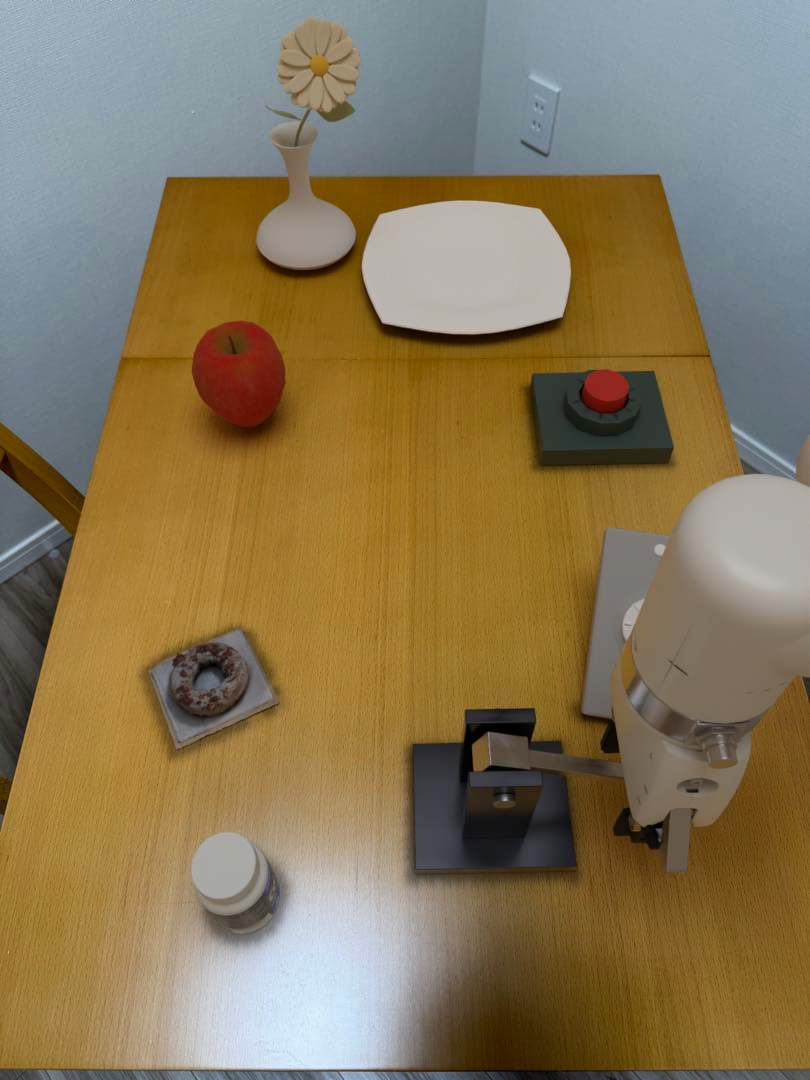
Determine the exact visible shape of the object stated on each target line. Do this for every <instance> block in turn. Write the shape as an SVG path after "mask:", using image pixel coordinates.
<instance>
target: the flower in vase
mask: <svg viewBox="0 0 810 1080" xmlns="http://www.w3.org/2000/svg"><path fill="white" fill-rule="evenodd" d="M347 35H348V30H347V28H346V27H345V26H342V25H341V24H340V23H339V22H333V21H331V20H329V19H328V18H323V19H320V18H317V17H314V16H308V17H307V18H306V20H305V21H301V22H300V23H299V24H296V26H295V27H294V30H290V31H288V32H287V34H286V35H283V36H282V38H281V44H280V45H279V50H280V53H279V57H278V58H277V64H278V66H277V68H276V69H277V82H279V83H280V84H281V85H283V91H284V92H285V93H286V94H288V95H291V96H290V102H291V103H292V104H293V105H295V106H298V107H300V108H302V109H304V108H305V109H306V111H305V113H304V115H303V117H302V119H300V118H298V117H297V116H296V115H294V114H293V113H290V112H287V111H283V110H277V109H272V108H271V107H269V106H268V105H266V104H264V106H265V108H267V109H268V110H269V111H271V112H273V113H274V114H276V115H278V116H281V117H284V118H288V119H292V120H295V121H287V122H283V123H280V124H278V125H276V126H274V127H273V128H272V129H271V130H270V131H269V134H268V139H269V141H270V143H272V145H273V146H275V148H276V149H277V150H278V151H279V153H280V155H281V157H282V160H283V162H284V166H285V169H286V172H287V178H288V186H289V195H288V198H287V199H286V200H285V201H284V202H282V203H280V204H279V205H278V206H276V207H275V208H274V209H272V210H271V211H270V212H269V213H268V214H267V215H266V216H265V217H264V218H263V219H262V221H261V222H260V224H259V225H258V229H257V232H256V236H255V237H256V238H255V241H256V246H257V249H258V251H259V252H260V253H261V254H262V255H263V256H264V257H265V258H266V259H267V260H268V261H270V262H271V263H272V264H274V265H276V266H278V267H281V268H284V269H288V270H294V271H311V270H318V269H322V268H326V267H328V266H331V265H334V264H335V263H337V262H339V261H340V260H342V259H343V258H344V257H345V256H347V254H348V253H349V252H350V250H351V249H352V248H353V246H354V244H355V241H356V238H357V232H356V231H357V230H356V227H355V226H354V223H353V221H352V220H351V218H350V217H349V215H348V214H347V213H346V212H345V211H343V210H342V209H340V208H339V207H337V206H336V205H334V204H333V203H330V202H328V201H325V200H323V199H320V198H319V197H316V196H315V195H314V193H313V191H312V187H311V181H310V156H311V155H310V154H311V151H312V147H313V145H314V143H315V142H316V140H317V138H318V135H319V131H318V129H317V128H316V127H315V126H313V125H312V124H310V123H308V122H306V120H307V119H308V117H309V115H310V113H311V111H312V110H313V111H316V113H317V114H318V115H319V116H320V117H321V118H322V119H323V120H325V121H326V122H329V123H335V122H338V121H342V120H344V119H346V118H348V117H349V116H351V115H352V114H354V113H355V112H356V109H355V108H354V107H353V106H352V104H351V103H349V102H348V101H347V99H348V98H349V97H350V96H352V95H353V96H354V94H355V93H356V86H357V80H359V78H360V72H359V71H360V70H359V66H360V65H361V58H360V53H361V52H360V51H359V49H357V48H355V47H354V40H353V39H352V38H351V37H350V36H347Z"/></svg>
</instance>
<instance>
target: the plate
mask: <svg viewBox="0 0 810 1080" xmlns="http://www.w3.org/2000/svg"><path fill="white" fill-rule="evenodd" d="M366 240H367V241H366V244H365V246H364V250H363V254H362V261H361V270H362V271H361V273H362V278H363V282H364V285H365V288H366V292H367V294H368V296H369V299H370V301H371V303H372V305H373V308H374V311H375V312H376V314H377V315H378V318H379V320H380V322H381V323H382V325H384V326H390V327H396V328H401V329H406V330H413V331H419V332H424V333H429V334H430V333H431V334H441V335H451V336H482V335H493V334H494V335H495V334H500V333H505V332H511V331H517V330H520V329H525V328H529V327H534V326H537V325H542V324H546V323H549V322H552V321H556V320H560V319H562V318H563V316H564V312H565V310H566V306H567V302H568V298H569V293H570V287H571V277H572V268H571V266H572V265H571V258H570V255H569V252H568V251H567V247H566V246H565V244H564V241H563V240H562V238H561V236H560V235H559V233H558V232H557V230H556V229H555V227H554V226H553V224H552V222H550V220H549V218H548V217H547V216H546V215H545V214H544V213H543V211H542V209H540V208H537V207H531V206H524V205H518V204H511V203H504V202H497V201H495V202H494V201H484V200H447V201H438V202H432V203H425V204H419V205H415V206H409V207H405V208H400V209H397V210H392V211H388V212H384V213H380V214H379V215H378V217H377V219H376V220H375V223H374V224H373V227H372V229H371V231H370V233H369V235H368V238H367V239H366Z"/></svg>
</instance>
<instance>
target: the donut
mask: <svg viewBox="0 0 810 1080" xmlns="http://www.w3.org/2000/svg"><path fill="white" fill-rule="evenodd" d="M261 663H262V662H261V661H260V659H259V658H258V656H257V653H256V651H255V650H254V647H253V645H252V643H251V641H250V639H249V637H248V635H247V633H246V632H245V631H244V629H243V628H241V627H237V628H236V629H234V630H231V631H228V632H226V633H224V634H222V635H220V636H216V637H215V638H212V639H210V640H209V641H207V642H204V643H201V644H198V645H196V646H194V647H192V648H189V649H186V650H184V651H182V652H180V653H179V652H176V654H174V655H173V656H170V657H168V658H165V659H163V660H161V661H160V662H159V663H157V664H156V665H155V666H154V667H153V668H151V669H150V670H148V671H147V673H148V674H149V678H150V681H151V683H152V686H153V689H154V692H155V694H156V697H157V701H158V703H159V705H160V709H161V712H162V713H163V714H162V715H163V717H164V720H165V722H166V725H167V727H168V731H169V733H170V736H171V738H172V742H173V744H174V747H175V750H179V749H182V748H184V747H186V746H189V745H191V744H193V743H195V742H197V741H199V740H201V739H202V738H205V737H206V736H209V735H211V734H212V735H213V734H215V733H216V732H219V731H222V730H223V729H224V728H228V727H230V726H232V725H234V724H236V723H238V722H240V721H242V720H245V719H247V718H249V717H252V716H254V715H255V714H257V713H259V712H261V711H264V710H266V709H270V708H272V707H273V706H275V705H277V704H279V703H280V700H279V698H278V696H277V694H276V692H275V690H274V688H273V686H272V683H271V682H270V679H269V678H268V677H267V673H266V672H265V670H264V668H263V665H262V664H261Z"/></svg>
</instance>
